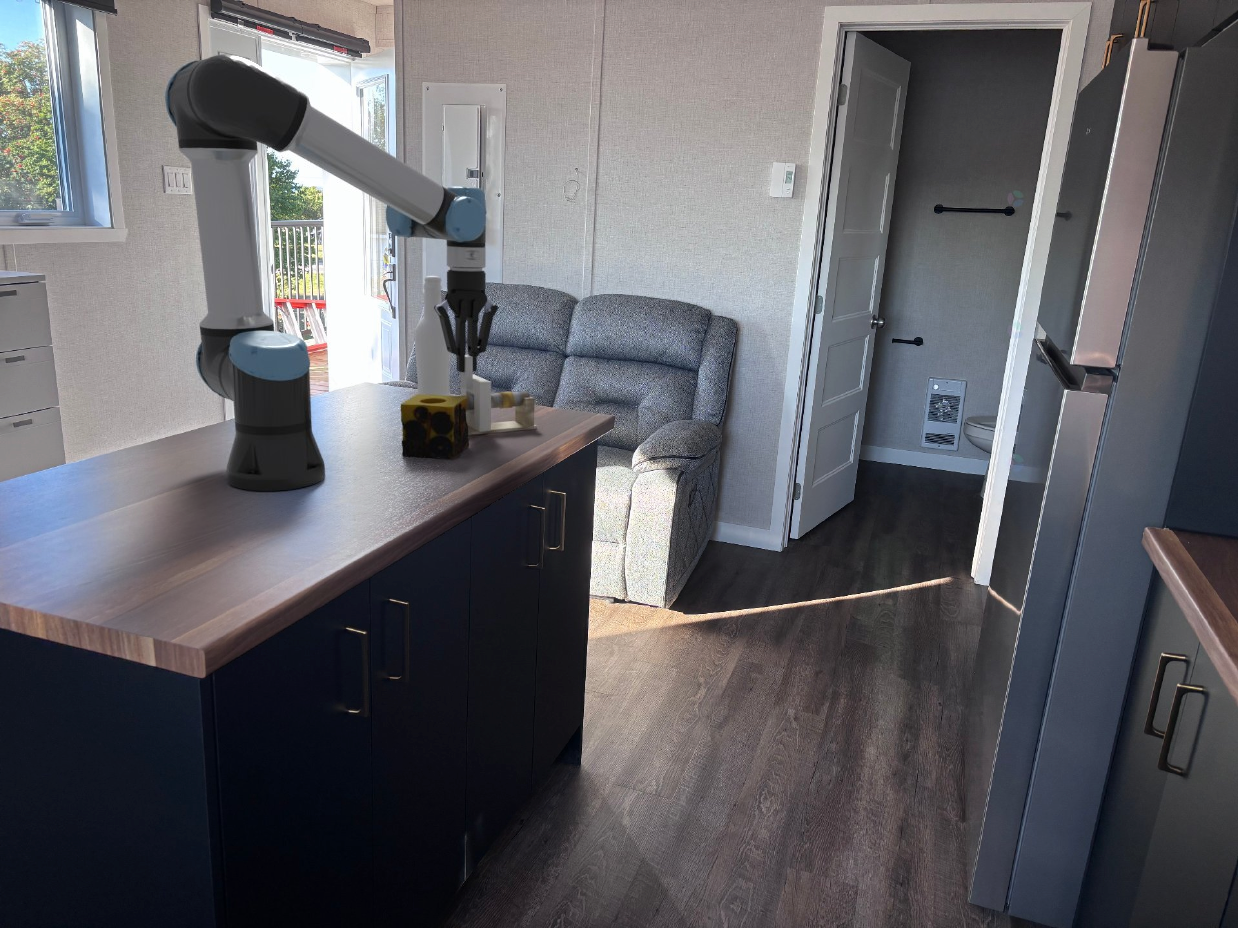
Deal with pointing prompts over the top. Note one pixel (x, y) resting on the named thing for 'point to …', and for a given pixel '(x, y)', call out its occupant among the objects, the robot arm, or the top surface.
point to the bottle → (431, 345)
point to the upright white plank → (479, 404)
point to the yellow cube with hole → (434, 426)
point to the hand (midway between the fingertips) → (466, 387)
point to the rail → (513, 425)
